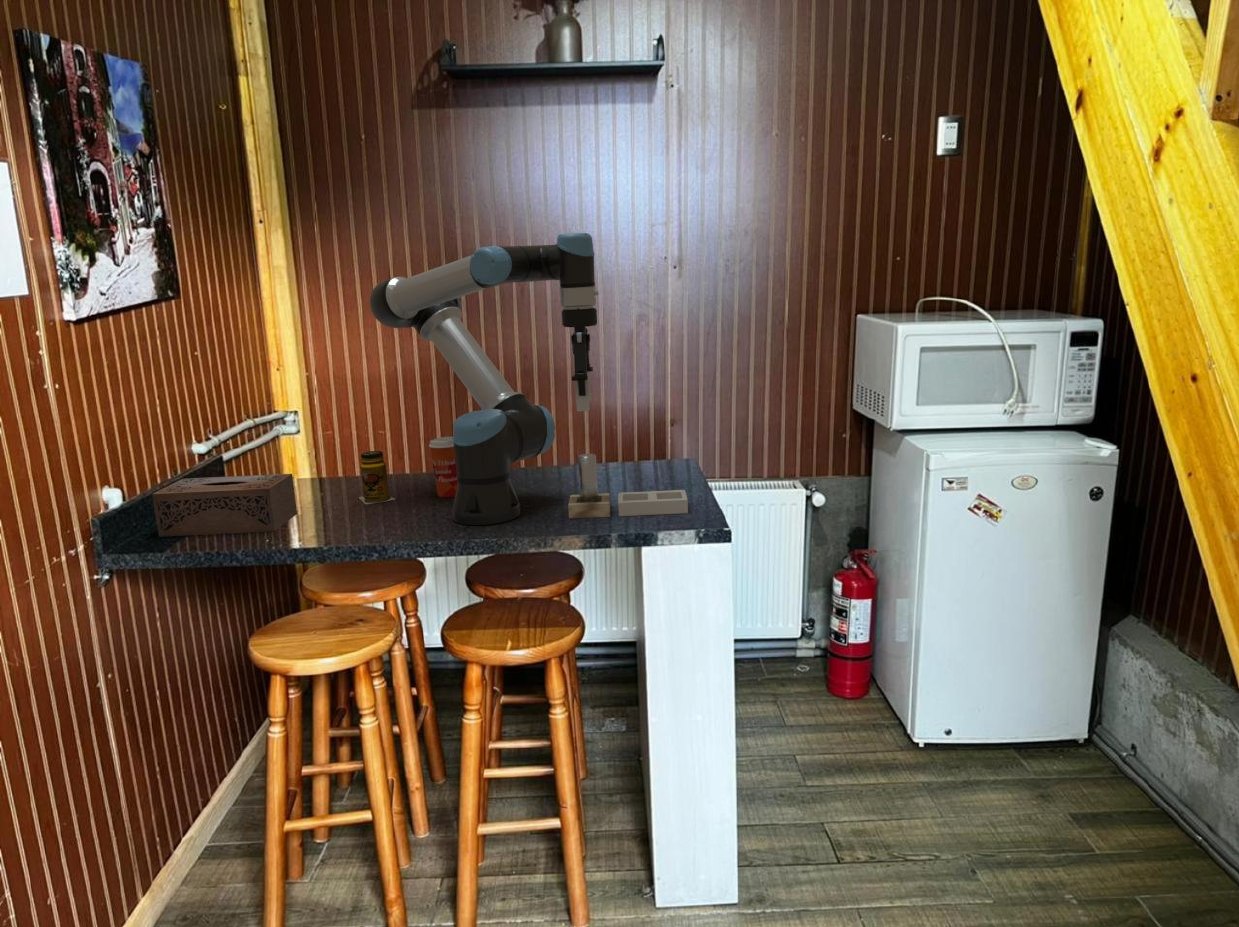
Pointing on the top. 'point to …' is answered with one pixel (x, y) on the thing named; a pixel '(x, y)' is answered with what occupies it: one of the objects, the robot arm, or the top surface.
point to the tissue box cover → (225, 505)
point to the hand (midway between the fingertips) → (584, 406)
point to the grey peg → (588, 478)
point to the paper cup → (444, 466)
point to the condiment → (374, 478)
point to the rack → (652, 503)
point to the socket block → (589, 507)
